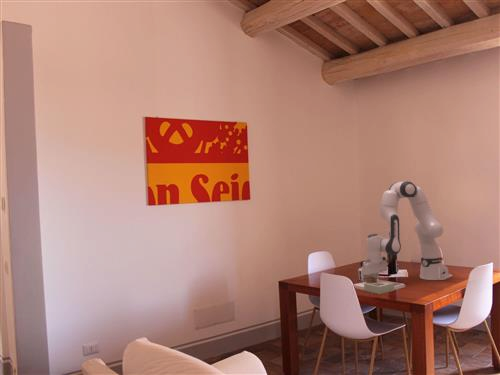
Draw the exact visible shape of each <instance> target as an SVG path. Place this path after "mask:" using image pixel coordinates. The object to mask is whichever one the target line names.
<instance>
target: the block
mask: <svg viewBox="0 0 500 375" xmlns="http://www.w3.org/2000/svg"><path fill="white" fill-rule="evenodd" d="M366 283H370V284H373V283H377V278H374V277H368V278H366Z"/></svg>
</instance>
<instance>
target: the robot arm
mask: <svg viewBox="0 0 500 375" xmlns="http://www.w3.org/2000/svg"><path fill="white" fill-rule="evenodd" d="M404 198H407V199H408V201H409V204H410V206H411V209H412V213H413V215H414V217H415V218H416V219H417V222H416V223H415V225H414V231H415V233H416V235H417V237H418V241H419V244H420V253H421V257H420V263H421V264H420V270H419V271H420V272H419V273H420V274H419V275H418V276H419V278H420V279H422V280H425V281H445V280H447V279H450V278H452V277H453V274H451V273H449V269H448V267H447V266H446V265H445V264H443V263H442V261H444V258H443V257H441V256H440V254H439V245H438V243H437V241H436V239H437V238H440V237H441V236H442V235H443V234H444V227H443V225H442V224H440V223H439V221H438V219H437V218H436V217H435V214H434V213H433V212H432V209H431V207H430V204H429V202H428V199H427V197H426V195H425V192H424V191H423V189H422V188H421V187H420V186H416V185H415V184H414V183H413V182H412V181H403V180H402V181H399V182H398V181H397V182H394V183H393V184H391V185H390V187H389V188H388V190H385V191H383V194H382V197H381V201H380V209H379V210H380V211H379V212H380V216H381V217H382V219H384V220H385V221H386V222H387V224H388V226H389V238H387V237H383V236H381V235H379V234H378V233H371V234H368V235H367V236H366V250H367V253H366V257H367V258H366V259H365V260H364V262H363V261H362V262H363V266H362V273H363V274H364V275H369V274H371V275H372V277H374V278H377V279H379V275H380V273H384V272H387V270H388V263H387V257H386V256H382V253H384V254H388V255H390V256H391V255H392V256H396V255H398V254H400V251H401V247H402V244H401V240H400V218H399V215H398V212H399V211H398V210H399V209H398V208H399V207H398V206H399V201H400V200H401V199H404Z"/></svg>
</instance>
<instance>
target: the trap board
mask: <svg viewBox="0 0 500 375" xmlns="http://www.w3.org/2000/svg"><path fill="white" fill-rule="evenodd" d="M353 285H354V287H355V288H354V289H357V290H361V291H364V292H367V293H373V294H378V295H382V294H386V293H391V292H394V291H396V290H400V289H404V288H406V284H405V283H400V282H395V281H389V280H384V279H379V278H378V279H377V283H373V284H370V283H366V282H363V281H361V282H359V283H354V284H353Z"/></svg>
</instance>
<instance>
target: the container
mask: <svg viewBox="0 0 500 375" xmlns="http://www.w3.org/2000/svg"><path fill="white" fill-rule="evenodd" d="M364 261H365V260H364ZM364 261H360V264H359V265H360V268H358V270H357V272H358V280H359V281H361V282H366V278H368V277H372V275H371V274H369V275H364V274H363V273H362V266H363V262H364Z"/></svg>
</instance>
